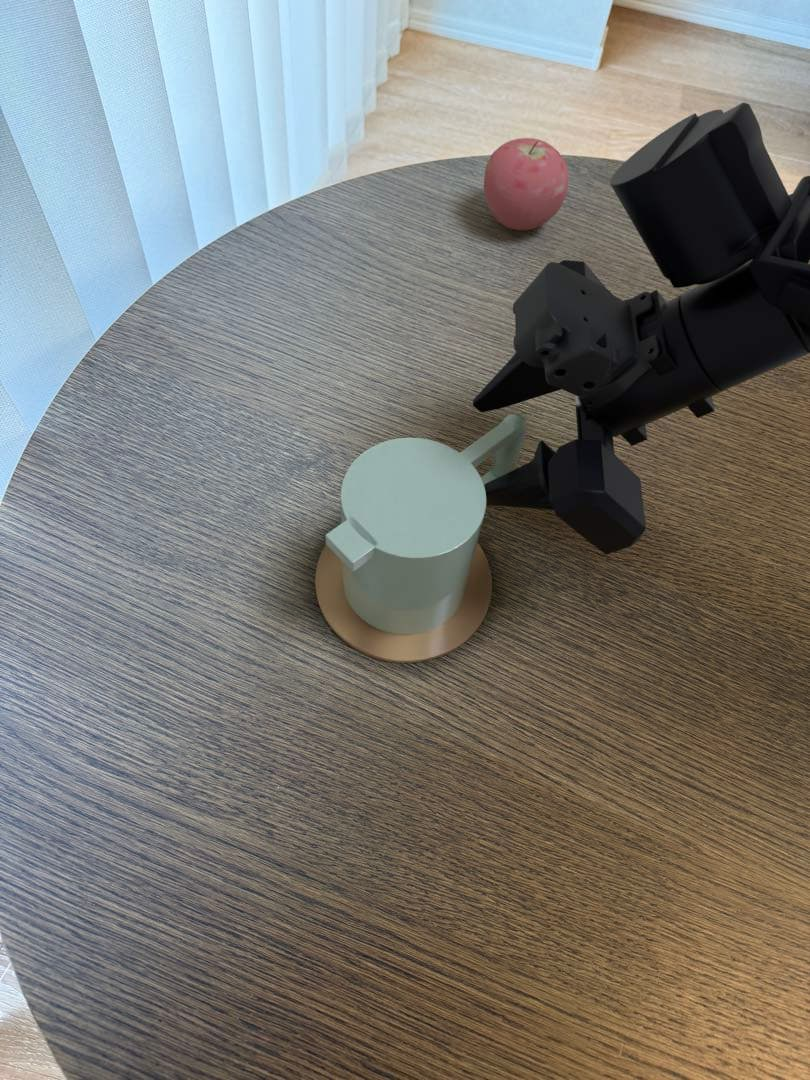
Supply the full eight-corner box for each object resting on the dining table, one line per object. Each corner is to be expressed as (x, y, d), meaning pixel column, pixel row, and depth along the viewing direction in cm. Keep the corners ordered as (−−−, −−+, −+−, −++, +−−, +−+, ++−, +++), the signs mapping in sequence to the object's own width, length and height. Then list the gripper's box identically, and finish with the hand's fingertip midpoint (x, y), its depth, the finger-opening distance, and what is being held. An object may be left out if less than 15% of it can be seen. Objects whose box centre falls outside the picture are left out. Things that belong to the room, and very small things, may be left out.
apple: (537, 190, 79) (555, 110, 73) (569, 239, 76) (590, 160, 69) (466, 202, 78) (477, 121, 71) (494, 253, 74) (509, 173, 67)
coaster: (510, 536, 58) (511, 533, 58) (463, 687, 52) (464, 685, 52) (351, 488, 60) (351, 485, 60) (288, 629, 54) (287, 627, 53)
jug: (383, 673, 52) (390, 598, 43) (300, 584, 55) (290, 497, 46) (541, 543, 58) (576, 453, 49) (459, 469, 61) (477, 372, 52)
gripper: (614, 134, 45) (401, 278, 54) (649, 393, 35) (382, 515, 44) (704, 263, 52) (502, 371, 61) (755, 509, 42) (505, 594, 51)
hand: (475, 451), depth 54 cm, fingers open, 7 cm apart
